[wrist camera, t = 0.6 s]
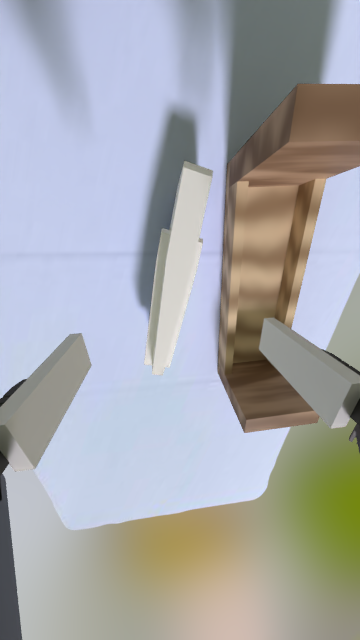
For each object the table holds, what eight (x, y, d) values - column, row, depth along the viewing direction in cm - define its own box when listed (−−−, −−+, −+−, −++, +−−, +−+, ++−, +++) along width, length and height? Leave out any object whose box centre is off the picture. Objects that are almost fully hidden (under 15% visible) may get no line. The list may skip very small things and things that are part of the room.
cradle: (227, 164, 25) (298, 83, 12) (307, 162, 26) (452, 84, 13) (217, 372, 40) (244, 432, 27) (268, 366, 41) (316, 422, 28)
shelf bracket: (142, 340, 35) (136, 372, 23) (166, 204, 30) (175, 153, 18) (169, 344, 36) (177, 377, 24) (196, 213, 31) (223, 171, 19)
